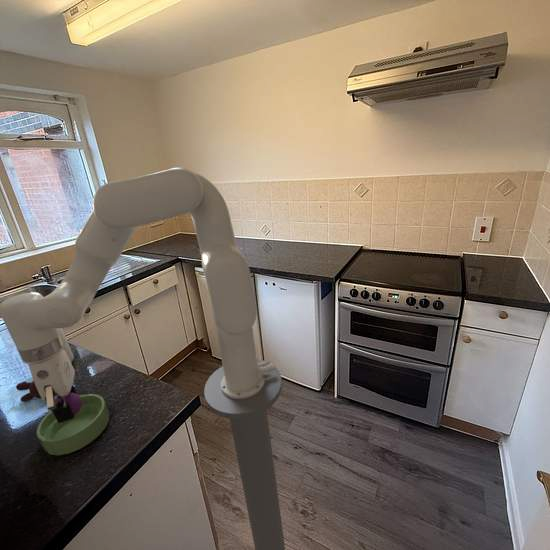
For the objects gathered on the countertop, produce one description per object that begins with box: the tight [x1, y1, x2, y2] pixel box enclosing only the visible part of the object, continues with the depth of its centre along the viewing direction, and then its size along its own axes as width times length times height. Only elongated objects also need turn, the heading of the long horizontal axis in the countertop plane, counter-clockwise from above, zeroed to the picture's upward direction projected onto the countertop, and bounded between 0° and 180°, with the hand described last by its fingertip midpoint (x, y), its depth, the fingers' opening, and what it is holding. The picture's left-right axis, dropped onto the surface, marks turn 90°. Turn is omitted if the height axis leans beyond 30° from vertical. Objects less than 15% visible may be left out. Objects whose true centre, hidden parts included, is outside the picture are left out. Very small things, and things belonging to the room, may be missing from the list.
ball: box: [52, 393, 82, 416], centre depth 72 cm, size 6×6×6 cm
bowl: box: [36, 393, 110, 456], centre depth 74 cm, size 14×14×5 cm
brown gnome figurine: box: [15, 380, 42, 403], centre depth 87 cm, size 7×7×15 cm
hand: (69, 409), depth 72 cm, fingers closed on ball, 5 cm apart
